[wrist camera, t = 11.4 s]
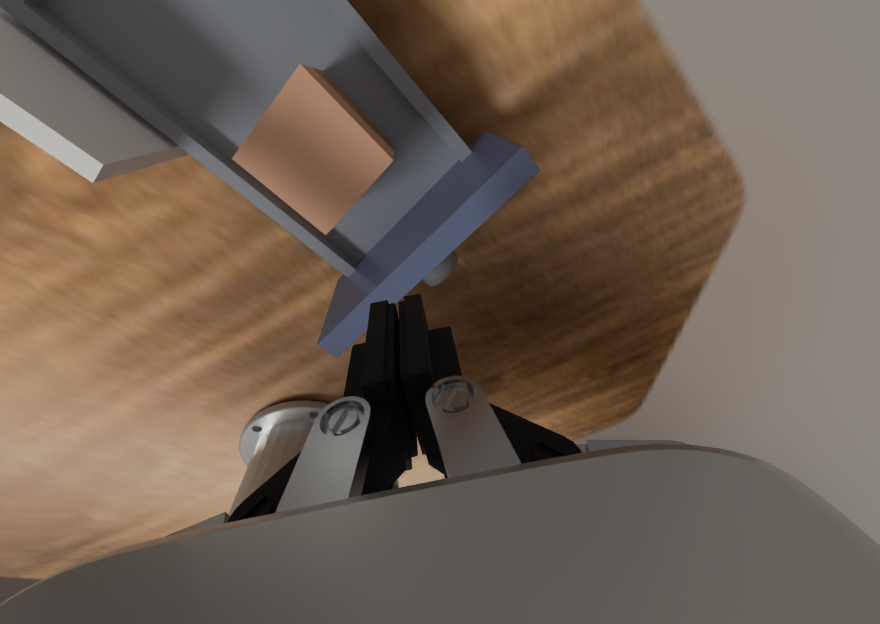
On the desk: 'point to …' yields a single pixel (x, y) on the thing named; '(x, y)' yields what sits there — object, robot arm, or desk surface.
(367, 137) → the block
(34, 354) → the desk surface
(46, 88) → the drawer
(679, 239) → the desk surface
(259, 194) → the blue pull-out tray
